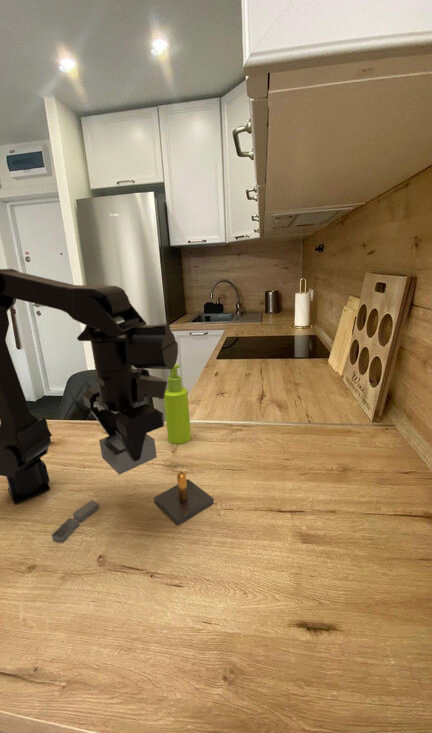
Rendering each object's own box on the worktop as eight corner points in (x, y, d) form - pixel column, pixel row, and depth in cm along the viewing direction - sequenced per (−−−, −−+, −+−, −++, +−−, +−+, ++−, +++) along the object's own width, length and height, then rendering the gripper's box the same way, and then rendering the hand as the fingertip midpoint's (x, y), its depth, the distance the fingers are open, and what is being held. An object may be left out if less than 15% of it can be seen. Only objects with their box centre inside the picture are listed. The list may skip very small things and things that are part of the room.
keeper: (178, 525, 56) (175, 496, 54) (154, 501, 62) (151, 474, 60) (213, 502, 61) (212, 475, 59) (188, 483, 67) (186, 457, 65)
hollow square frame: (119, 474, 53) (116, 455, 52) (102, 457, 58) (99, 439, 57) (156, 457, 58) (154, 439, 57) (137, 443, 63) (135, 426, 62)
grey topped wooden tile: (81, 523, 58) (79, 517, 58) (74, 519, 59) (72, 513, 59) (99, 509, 61) (98, 503, 61) (92, 506, 62) (91, 499, 62)
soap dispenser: (176, 429, 89) (170, 358, 83) (195, 436, 85) (190, 363, 79) (160, 438, 85) (152, 364, 79) (179, 446, 81) (172, 369, 75)
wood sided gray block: (63, 544, 54) (61, 537, 53) (53, 541, 54) (51, 535, 54) (79, 526, 57) (78, 520, 57) (70, 524, 58) (69, 517, 58)
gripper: (188, 366, 51) (195, 454, 55) (133, 348, 65) (142, 419, 69) (121, 385, 44) (135, 484, 49) (75, 360, 58) (90, 439, 62)
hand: (127, 451), depth 57 cm, fingers closed on hollow square frame, 7 cm apart
